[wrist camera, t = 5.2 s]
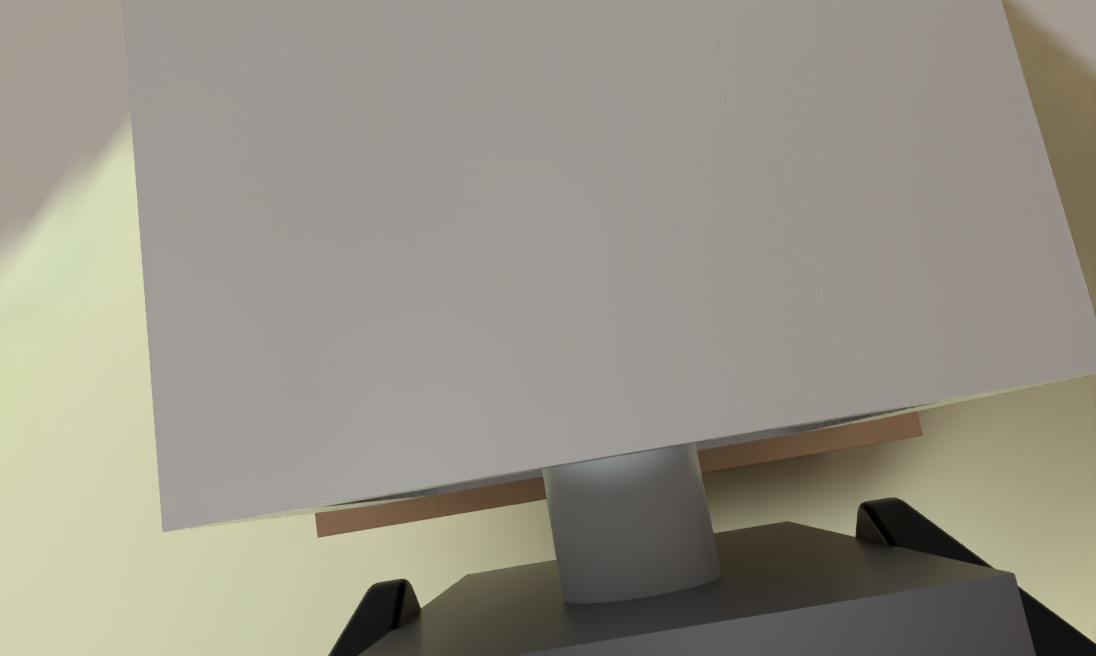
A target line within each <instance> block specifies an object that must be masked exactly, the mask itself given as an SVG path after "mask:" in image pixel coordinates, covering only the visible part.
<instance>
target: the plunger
mask: <svg viewBox="0 0 1096 656" xmlns="http://www.w3.org/2000/svg"><path fill="white" fill-rule="evenodd" d="M542 473H543V479H544V485H545V491H546V497H547V503H548V509H549V516H550V522H551V528H552V534H553V540H554V546H555V553H556V559H557V560H552V561H546V562H540V563H534V564H528V565H522V566H516V567H510V568H504V569H498V570H492V571H486V572H480V573H474V574H468V575H466V576H464V577H463V578H462V579H460V580H459V581H458V582H456V583H455V584H454V585H452V586H451V587H450V588H448V589H447V590H445V591H444V592H443V593H441V594H440V595H439V596H437V597H436V598H435V599H433V600H432V601H431V602H429V603H428V604H427V605H425V606H424V607H423V608H421V610H422V611H421V612H419V613H418V614H417V615H415V616H414V617H413V618H411V619H410V620H409V621H407V622H406V623H405V624H404V625H402V626H401V627H399V628H397V629H394V630H392V631H391V632H389V633H388V634H386V635H385V636H384V637H382V638H381V639H380V640H378V641H377V642H376V643H374V644H373V645H372V646H370V647H369V648H368V649H366V650H365V651H364V652H362V653H361V654H360V655H358V656H1036V654H1035V650H1034V646H1033V642H1032V639H1031V635H1030V631H1029V627H1028V623H1027V620H1026V616H1025V612H1024V608H1023V604H1022V601H1021V597H1020V593H1019V589H1018V585H1017V582H1016V578H1015V574H1014V573H1010V572H1006V571H1002V570H997V569H993V568H988V567H984V566H980V565H975V564H971V563H967V562H962V561H958V560H954V559H949V558H945V557H941V556H936V555H932V554H927V553H923V552H919V551H914V550H910V549H906V548H901V547H897V546H895V547H889V546H884V545H879V544H875V543H871V542H867V541H863V540H858V539H855V537H853V536H849V535H845V534H840V533H836V532H832V531H827V530H823V529H818V528H814V527H810V526H805V525H801V524H797V523H792V522H788V521H786V522H780V523H774V524H768V525H762V526H756V527H750V528H744V529H738V530H732V531H726V532H720V533H714V534H713V530H712V525H711V520H710V515H709V509H708V504H707V499H706V494H705V489H704V484H703V479H702V474H701V469H700V464H699V459H698V454H697V449H696V444H695V443H694V444H688V445H682V446H677V447H671V448H665V449H659V450H653V451H647V452H641V453H635V454H629V455H624V456H618V457H612V458H606V459H600V460H594V461H588V462H582V463H577V464H571V465H565V466H559V467H553V468H547V469H542Z"/></svg>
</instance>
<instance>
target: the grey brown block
mask: <svg viewBox="0 0 1096 656" xmlns="http://www.w3.org/2000/svg"><path fill="white" fill-rule="evenodd" d="M122 3H123V16H124V29H125V41H126V56H127V68H128V81H129V95H130V108H131V121H132V134H133V147H134V161H135V174H136V187H137V200H138V213H139V226H140V239H141V252H142V265H143V279H144V292H145V305H146V318H147V331H148V344H149V357H150V370H151V383H152V396H153V410H154V423H155V436H156V449H157V462H158V475H159V488H160V501H161V514H162V528H163V532H167V531H175V530H183V529H191V528H199V527H207V526H215V525H223V524H231V523H239V522H247V521H255V520H263V519H271V518H279V517H287V516H295V515H303V514H311V513H315V516H316V525H317V534H318V538H319V537H324V536H330V535H336V534H342V533H348V532H354V531H360V530H366V529H372V528H378V527H384V526H390V525H396V524H401V523H407V522H413V521H419V520H425V519H431V518H437V517H443V516H449V515H455V514H461V513H467V512H472V511H478V510H484V509H490V508H496V507H502V506H508V505H514V504H520V503H526V502H532V501H538V500H543V499H547V497H546V491H545V485H544V479H543V473H542V469H547V468H553V467H559V466H565V465H571V464H577V463H582V462H588V461H594V460H600V459H606V458H612V457H618V456H624V455H629V454H635V453H641V452H647V451H653V450H659V449H665V448H671V447H677V446H682V445H688V444H694V443H695V444H696V449H697V454H698V459H699V464H700V469H701V473H703V472H709V471H715V470H721V469H727V468H733V467H739V466H745V465H751V464H757V463H763V462H768V461H774V460H780V459H786V458H792V457H798V456H804V455H810V454H816V453H822V452H828V451H834V450H839V449H845V448H851V447H857V446H863V445H869V444H875V443H881V442H887V441H893V440H899V439H905V438H910V437H916V436H922V431H921V427H920V423H919V419H918V415H917V411H920V410H925V409H930V408H935V407H939V406H944V405H949V404H954V403H959V402H963V401H968V400H973V399H978V398H983V397H987V396H992V395H997V394H1002V393H1007V392H1012V391H1016V390H1021V389H1026V388H1031V387H1036V386H1040V385H1045V384H1050V383H1055V382H1060V381H1064V380H1069V379H1074V378H1079V377H1084V376H1089V375H1093V374H1096V316H1095V312H1094V309H1093V306H1092V302H1091V299H1090V296H1089V292H1088V289H1087V285H1086V282H1085V279H1084V275H1083V272H1082V269H1081V265H1080V262H1079V259H1078V255H1077V252H1076V248H1075V245H1074V242H1073V238H1072V235H1071V232H1070V228H1069V225H1068V222H1067V218H1066V215H1065V211H1064V208H1063V205H1062V201H1061V198H1060V195H1059V191H1058V188H1057V185H1056V181H1055V178H1054V174H1053V171H1052V168H1051V164H1050V161H1049V158H1048V154H1047V151H1046V148H1045V144H1044V141H1043V137H1042V134H1041V131H1040V127H1039V124H1038V121H1037V117H1036V114H1035V111H1034V107H1033V104H1032V100H1031V97H1030V94H1029V90H1028V87H1027V84H1026V80H1025V77H1024V74H1023V70H1022V67H1021V63H1020V60H1019V57H1018V53H1017V50H1016V47H1015V43H1014V40H1013V37H1012V33H1011V30H1010V26H1009V23H1008V20H1007V16H1006V13H1005V10H1004V6H1003V3H1002V0H122Z"/></svg>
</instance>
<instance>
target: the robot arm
mask: <svg viewBox="0 0 1096 656" xmlns="http://www.w3.org/2000/svg"><path fill="white" fill-rule="evenodd" d="M855 539H858V540H863V541H867V542H871V543H875V544H879V545H884V546H889V547H895V546H897V547H901V548H906V549H910V550H914V551H919V552H923V553H927V554H932V555H936V556H941V557H945V558H949V559H954V560H958V561H962V562H967V563H971V564H975V565H980V566H984V567H988V568H993V567H992V566H990V565H989V564H988V563H986V562H985V561H984V560H982V559H981V558H980V557H978V556H977V555H976V554H974V553H973V552H972V551H970V550H969V549H968V548H966V547H965V546H963V545H962V544H961V543H959V542H958V541H957V540H955V539H954V538H953V537H951V536H950V535H949V534H947V533H946V532H945V531H943V530H942V529H941V528H939V527H938V526H937V525H935V524H934V523H933V522H931V521H930V520H928V519H927V518H926V517H924V516H923V515H922V514H920V513H919V512H918V511H916V510H915V509H914V508H912V507H911V506H910V505H908V504H907V503H906V502H904V501H903V500H900V499H898V498H885V499H879V500H873V501H867V502H864V503H862V504H861V505H860V506H859V508H858V512H857V524H856V537H855ZM993 569H994V568H993ZM1018 589H1019V593H1020V597H1021V601H1022V604H1023V608H1024V612H1025V616H1026V620H1027V623H1028V627H1029V631H1030V635H1031V639H1032V642H1033V646H1034V650H1035V654H1036V656H1096V644H1095V643H1094V642H1093V641H1091V640H1090V639H1089V638H1087V637H1086V636H1085V635H1083V634H1082V633H1081V632H1079V631H1078V630H1077V629H1075V628H1074V627H1073V626H1071V625H1070V624H1069V623H1067V622H1066V621H1064V620H1063V619H1062V618H1060V617H1059V616H1058V615H1056V614H1055V613H1054V612H1052V611H1051V610H1050V609H1048V608H1047V607H1046V606H1044V605H1043V604H1042V603H1040V602H1039V601H1038V600H1036V599H1035V598H1034V597H1032V596H1031V595H1029V594H1028V593H1027V592H1025V591H1024V590H1023V589H1021V588H1020V587H1019V586H1018ZM421 611H422V610H421V608H420V605H419V602H418V600H417V597H416V595H415V592H414V590H413V587H412V585H411V584H410V582H409V581H408V580H406V579H398V580H392V581H386V582H380V583H376V584H374V585H372V586H371V587H370V588H369V589H368V591H367V592H366V594H365V595H364V597H363V599H362V600H361V602H360V604H359V605H358V607H357V609H356V610H355V612H354V614H353V615H352V617H351V619H350V620H349V622H348V624H347V625H346V627H345V629H344V630H343V632H342V634H341V635H340V637H339V639H338V640H337V642H336V644H335V645H334V647H333V649H332V650H331V652H330V654H329V655H328V656H358V655H360V654H361V653H362V652H364V651H365V650H366V649H368V648H369V647H370V646H372V645H373V644H374V643H376V642H377V641H378V640H380V639H381V638H382V637H384V636H385V635H386V634H388V633H389V632H391V631H392V630H394V629H397V628H399V627H401V626H402V625H404V624H405V623H406V622H407V621H409V620H410V619H411V618H413V617H414V616H415V615H417V614H418V613H419V612H421Z"/></svg>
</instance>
